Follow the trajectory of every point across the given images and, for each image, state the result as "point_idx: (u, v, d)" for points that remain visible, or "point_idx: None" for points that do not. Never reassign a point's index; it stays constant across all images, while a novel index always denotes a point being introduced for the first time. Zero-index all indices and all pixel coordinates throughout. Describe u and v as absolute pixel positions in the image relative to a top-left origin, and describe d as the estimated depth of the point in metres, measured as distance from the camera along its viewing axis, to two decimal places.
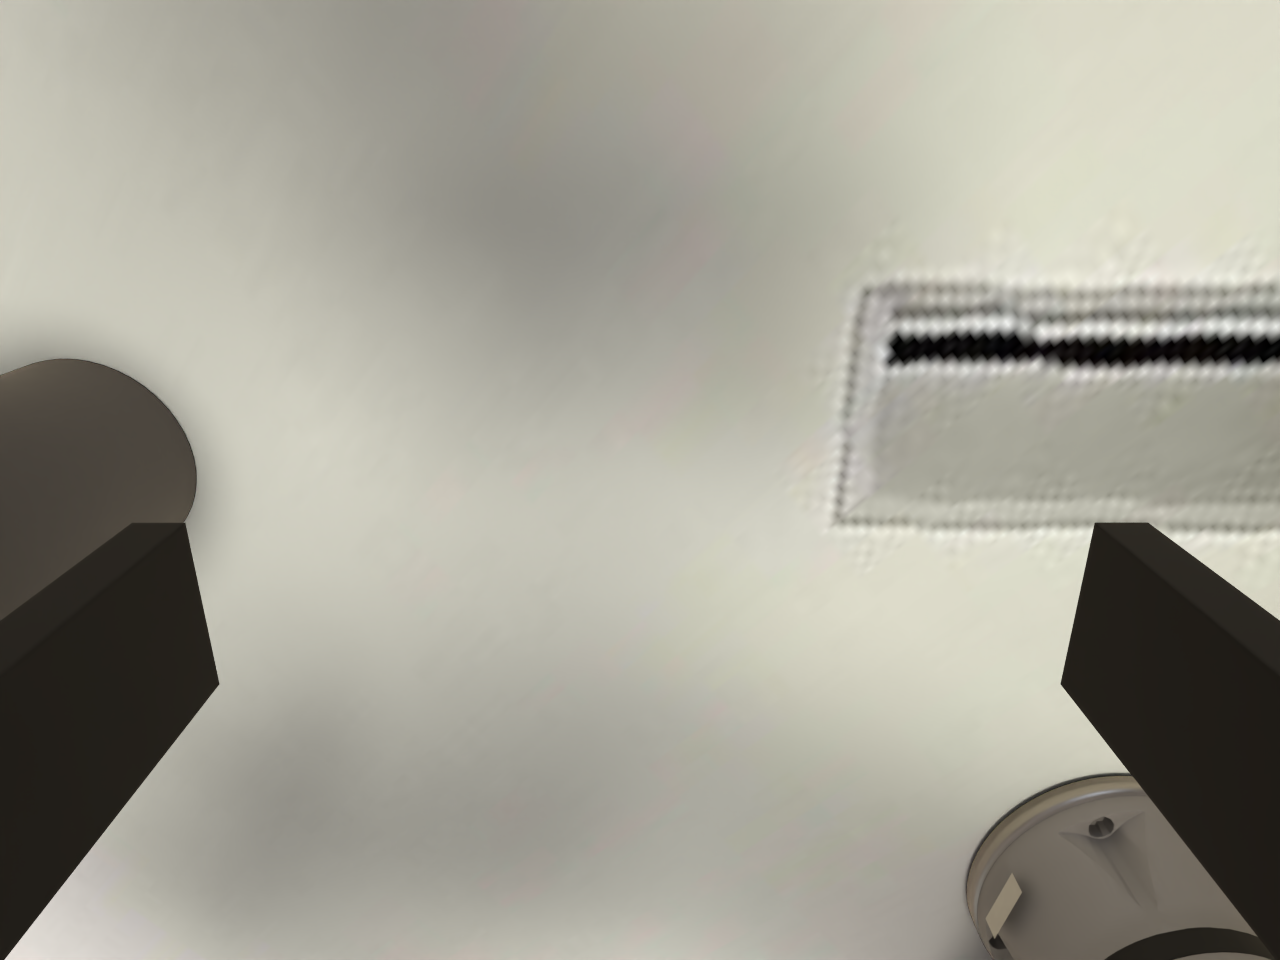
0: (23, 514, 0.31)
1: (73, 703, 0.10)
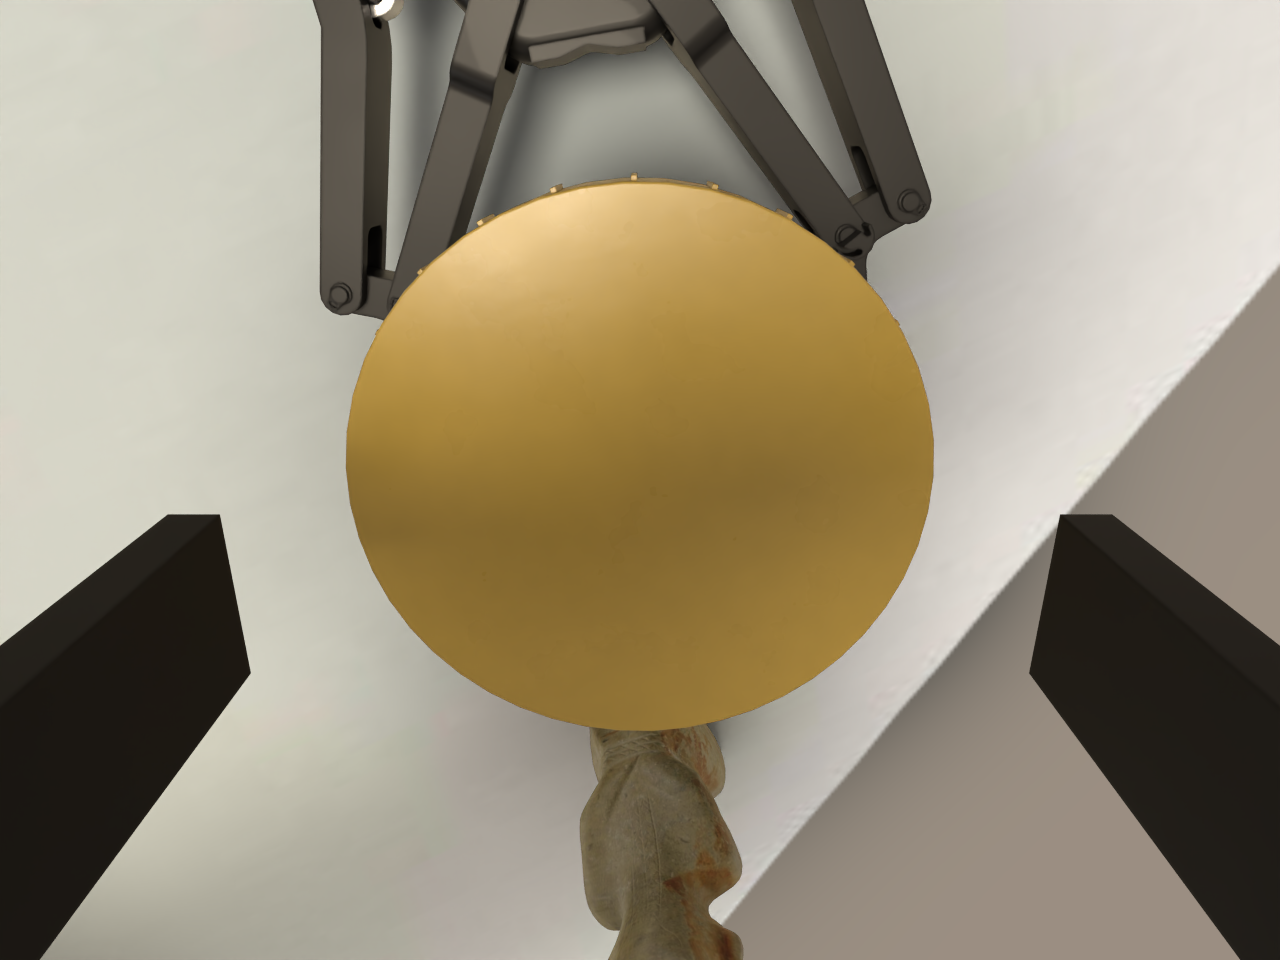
0: None
1: (119, 688, 0.10)
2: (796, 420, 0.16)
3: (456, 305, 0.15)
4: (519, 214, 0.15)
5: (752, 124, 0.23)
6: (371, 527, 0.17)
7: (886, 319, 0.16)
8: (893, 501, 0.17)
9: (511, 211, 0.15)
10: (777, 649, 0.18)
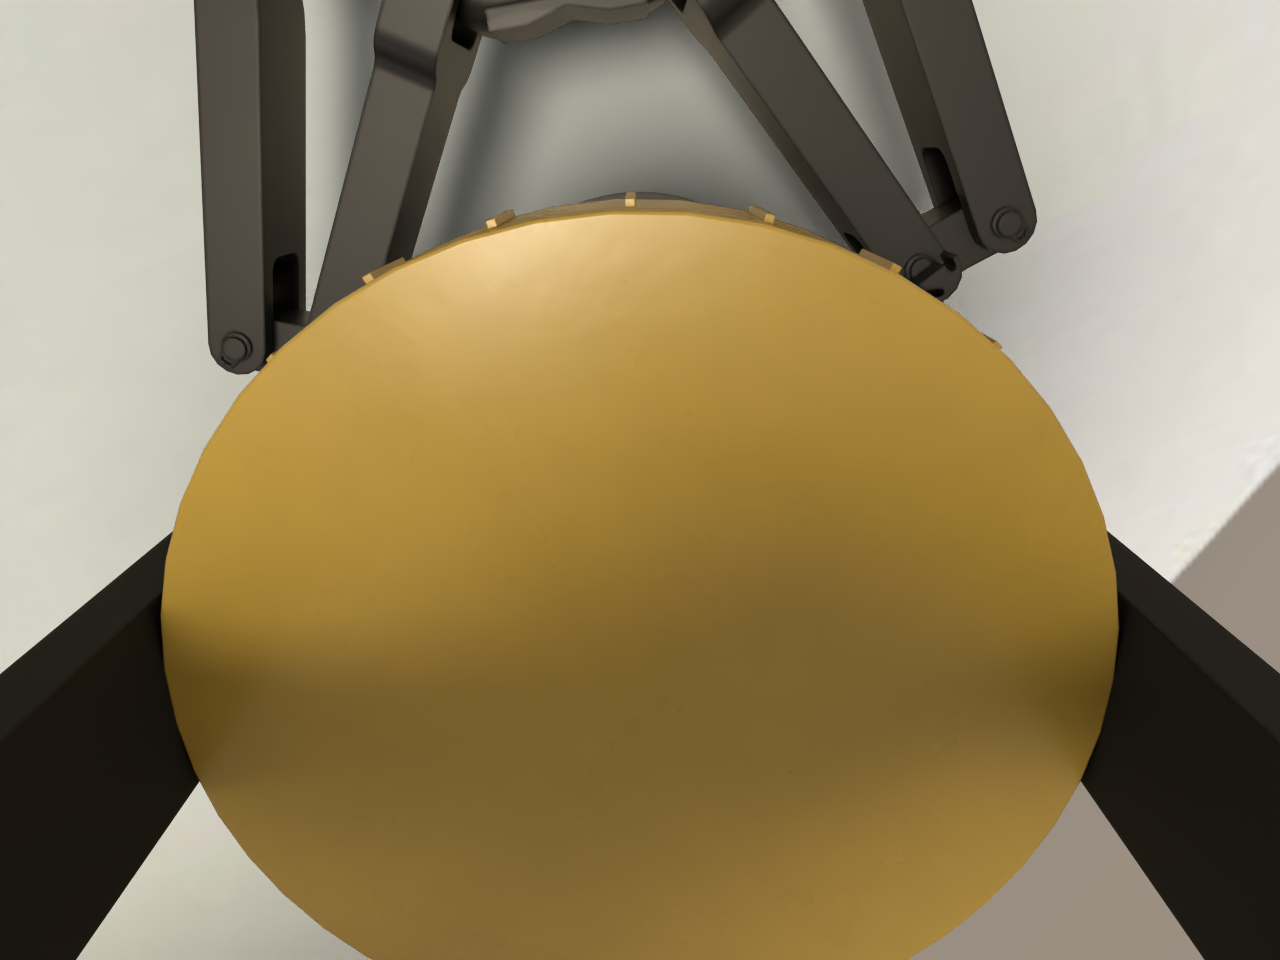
0: None
1: (162, 674, 0.10)
2: (897, 598, 0.10)
3: (328, 418, 0.09)
4: (430, 267, 0.09)
5: (794, 117, 0.17)
6: (212, 755, 0.11)
7: (1056, 441, 0.09)
8: (1047, 719, 0.11)
9: (416, 262, 0.09)
10: (851, 923, 0.12)
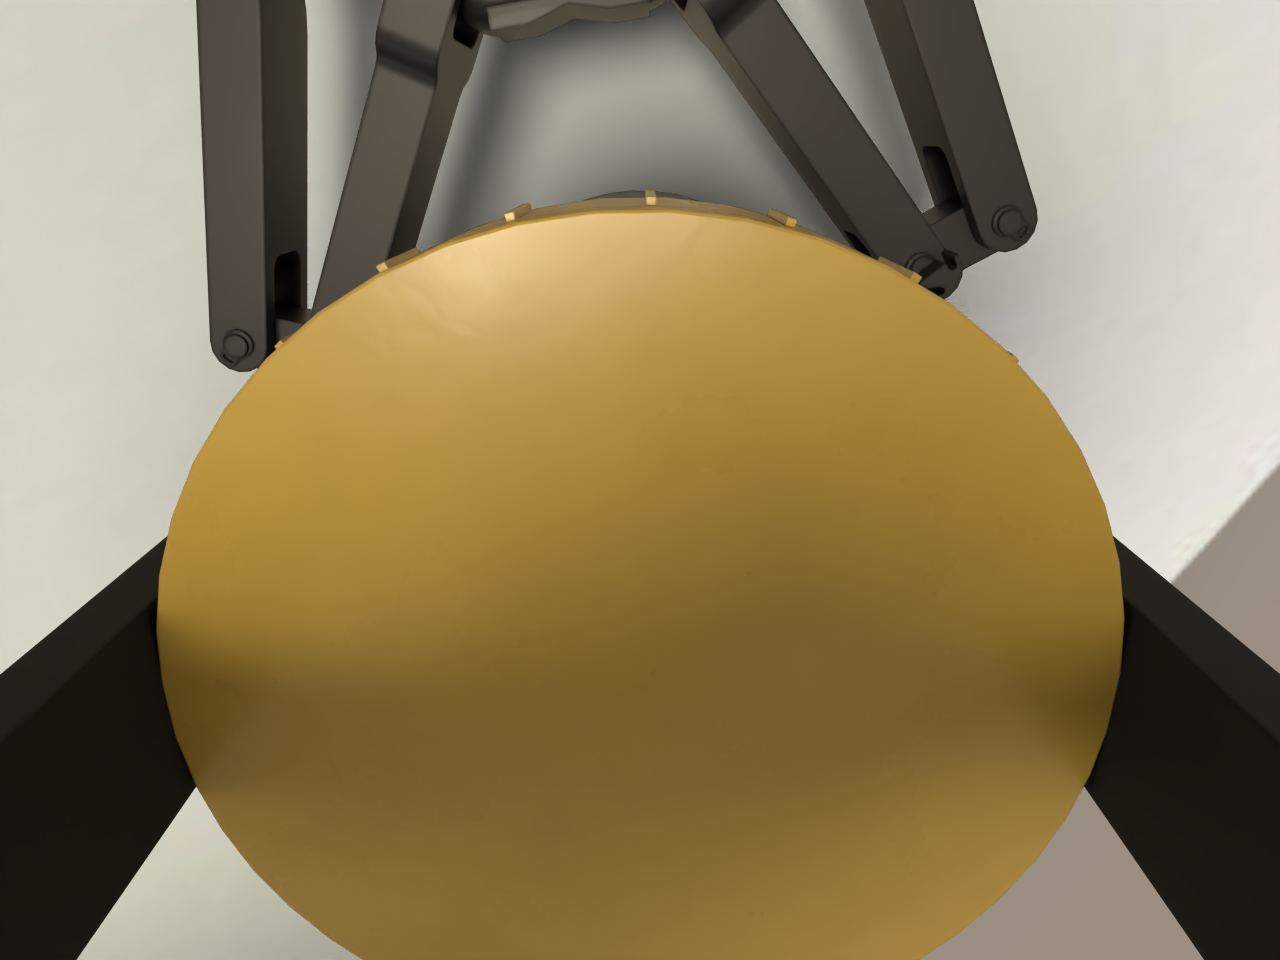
0: None
1: None
2: (534, 464, 0.09)
3: (345, 889, 0.11)
4: (219, 807, 0.11)
5: (796, 115, 0.17)
6: None
7: (351, 306, 0.09)
8: (715, 289, 0.09)
9: (216, 814, 0.11)
10: (994, 514, 0.09)
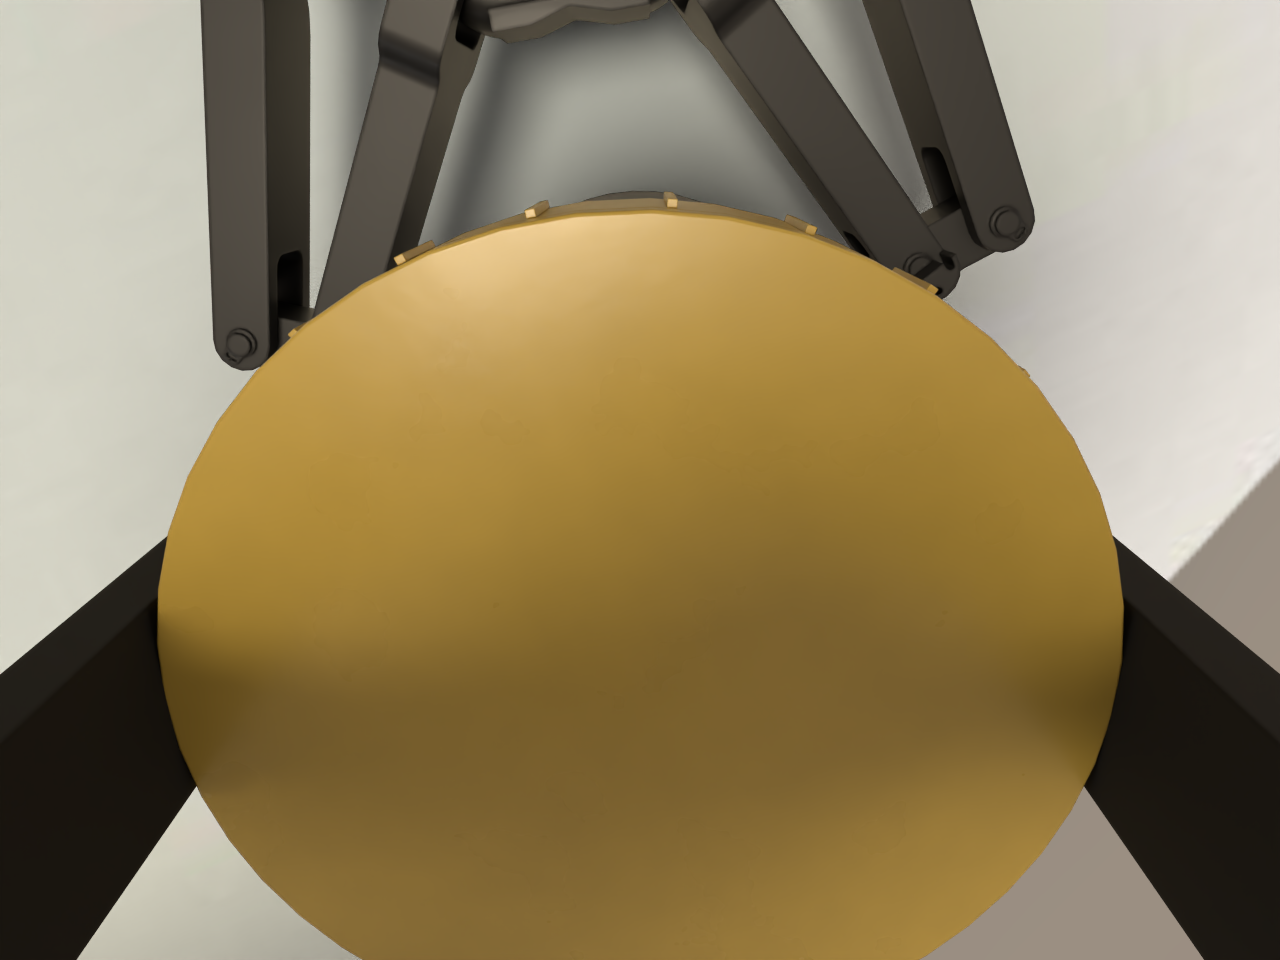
0: None
1: None
2: (382, 762, 0.11)
3: (822, 959, 0.12)
4: None
5: (795, 116, 0.17)
6: (1083, 726, 0.10)
7: (253, 860, 0.11)
8: (219, 616, 0.10)
9: None
10: (433, 373, 0.09)
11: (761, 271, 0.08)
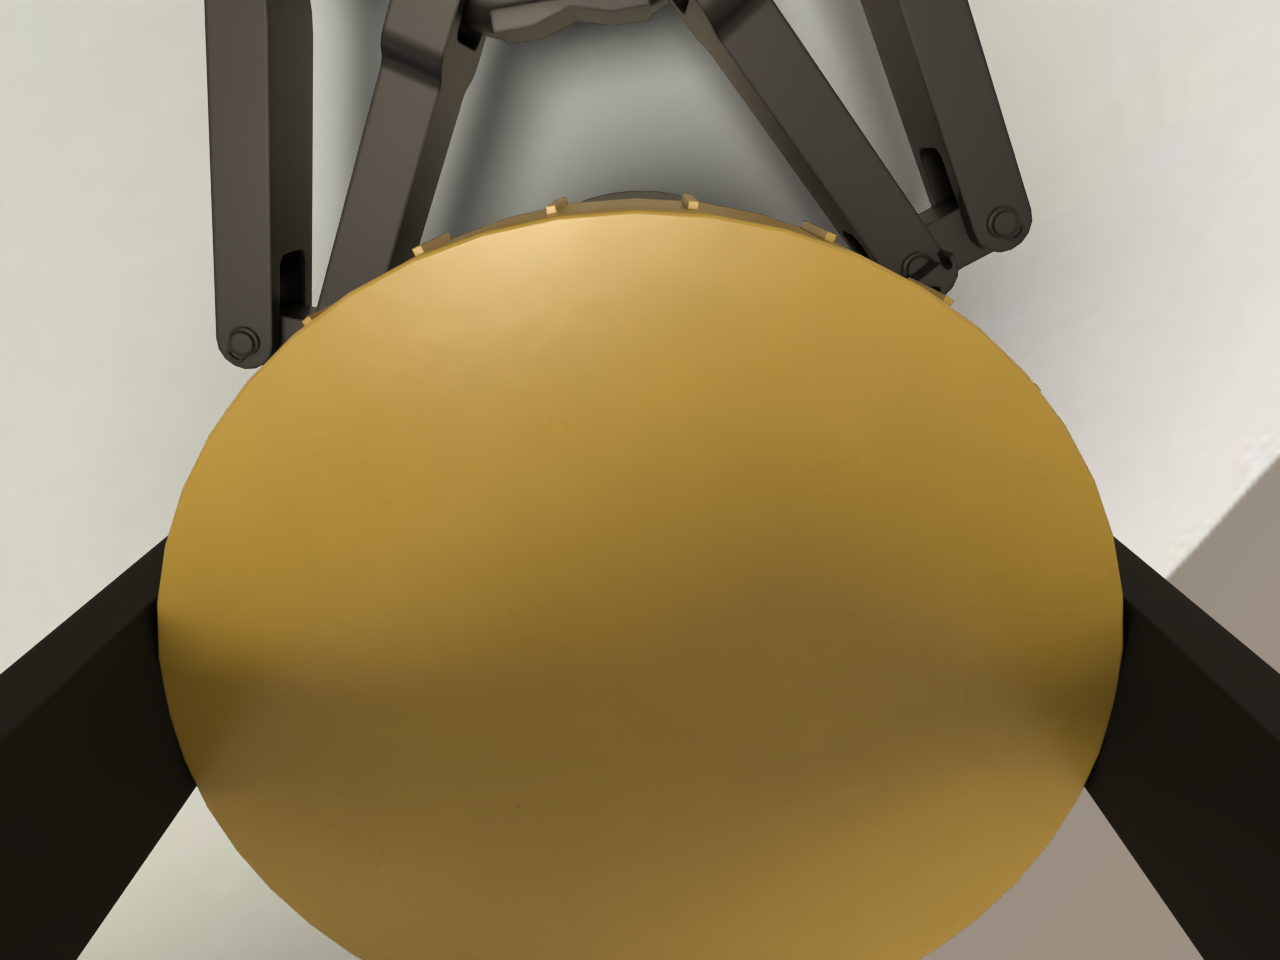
0: None
1: None
2: (676, 909, 0.12)
3: (1036, 550, 0.10)
4: (1108, 673, 0.10)
5: (794, 117, 0.17)
6: (724, 250, 0.08)
7: None
8: None
9: (1117, 663, 0.10)
10: (302, 818, 0.11)
11: (198, 581, 0.10)
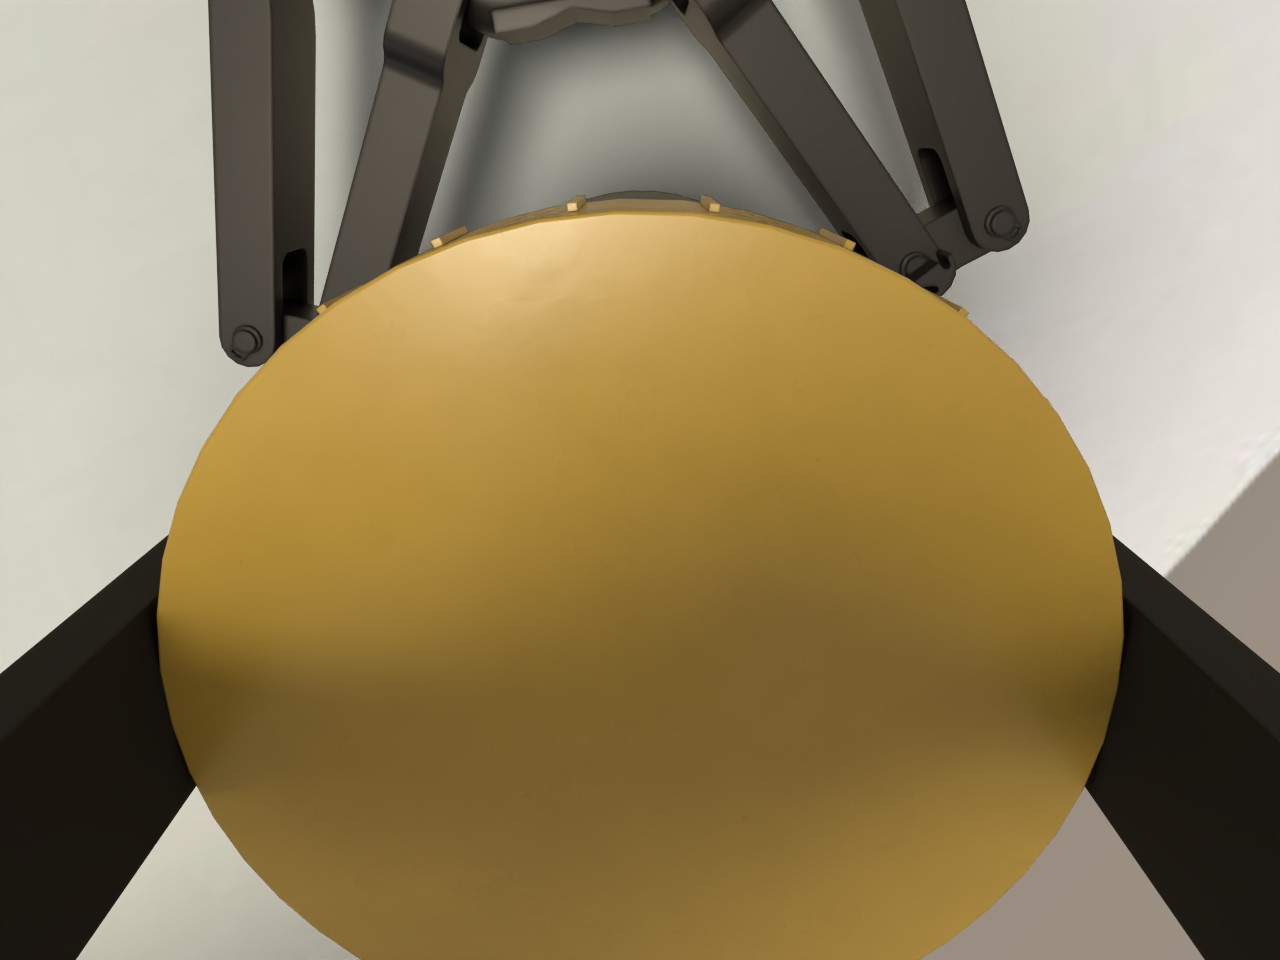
0: None
1: None
2: (915, 695, 0.10)
3: (477, 325, 0.09)
4: (649, 225, 0.08)
5: (793, 117, 0.17)
6: (184, 607, 0.10)
7: (1113, 610, 0.10)
8: (988, 847, 0.11)
9: (638, 214, 0.08)
10: None
11: None
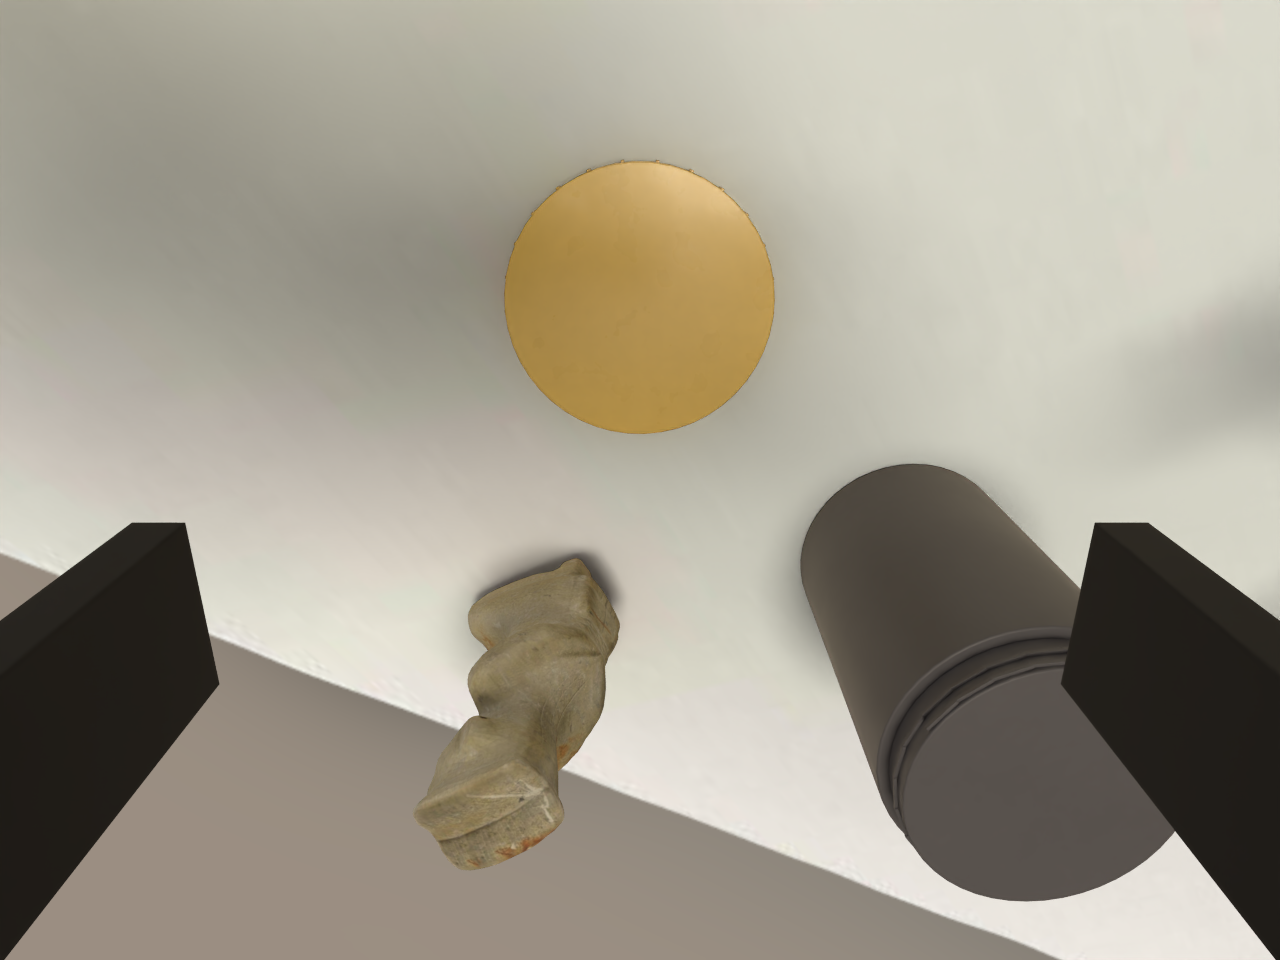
0: (1009, 570, 0.31)
1: (73, 703, 0.10)
2: (717, 301, 0.36)
3: (598, 191, 0.35)
4: (641, 165, 0.34)
5: None
6: (514, 273, 0.36)
7: (769, 273, 0.36)
8: (743, 356, 0.37)
9: (639, 162, 0.34)
10: (667, 406, 0.38)
11: (590, 414, 0.38)
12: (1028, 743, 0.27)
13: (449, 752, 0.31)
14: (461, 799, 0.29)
